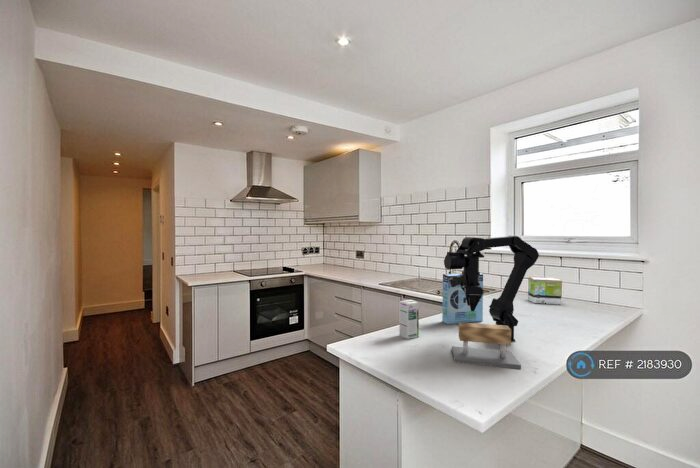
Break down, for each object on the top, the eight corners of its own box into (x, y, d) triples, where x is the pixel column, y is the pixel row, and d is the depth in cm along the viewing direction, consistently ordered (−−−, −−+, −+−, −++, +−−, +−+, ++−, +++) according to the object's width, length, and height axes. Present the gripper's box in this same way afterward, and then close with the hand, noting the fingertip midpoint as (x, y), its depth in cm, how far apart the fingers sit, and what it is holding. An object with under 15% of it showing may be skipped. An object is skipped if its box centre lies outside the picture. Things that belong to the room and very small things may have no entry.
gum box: (476, 318, 158) (477, 272, 158) (483, 321, 153) (484, 274, 153) (441, 321, 153) (442, 273, 152) (447, 324, 148) (448, 275, 148)
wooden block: (507, 340, 110) (507, 325, 110) (511, 344, 106) (511, 329, 105) (458, 336, 114) (458, 322, 113) (460, 340, 109) (460, 326, 109)
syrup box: (407, 339, 128) (407, 303, 128) (398, 335, 133) (399, 300, 133) (418, 337, 131) (419, 301, 130) (409, 333, 136) (410, 299, 136)
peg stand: (510, 354, 113) (510, 336, 113) (520, 368, 102) (521, 349, 102) (451, 349, 118) (451, 332, 118) (455, 362, 106) (455, 344, 106)
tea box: (534, 303, 190) (534, 279, 190) (527, 300, 200) (527, 276, 200) (561, 304, 188) (562, 279, 188) (553, 301, 198) (554, 277, 197)
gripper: (447, 265, 137) (447, 301, 137) (452, 271, 119) (451, 313, 119) (475, 266, 135) (474, 303, 135) (484, 272, 116) (483, 315, 117)
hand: (470, 308), depth 126 cm, fingers open, 9 cm apart
